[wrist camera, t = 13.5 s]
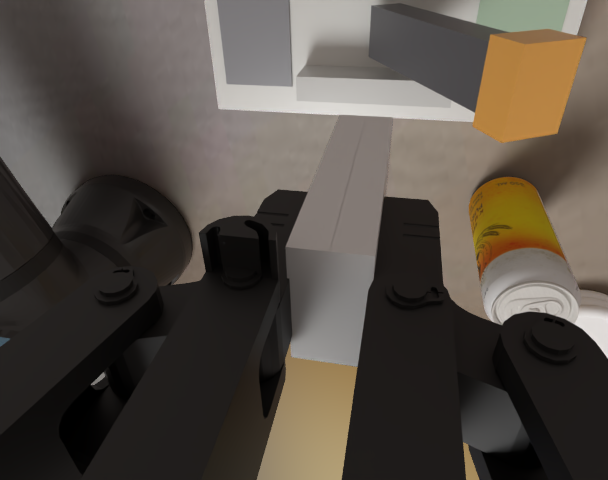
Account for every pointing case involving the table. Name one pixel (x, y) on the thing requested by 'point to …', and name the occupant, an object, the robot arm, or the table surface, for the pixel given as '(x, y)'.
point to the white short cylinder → (594, 317)
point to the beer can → (519, 253)
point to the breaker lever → (481, 67)
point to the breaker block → (344, 54)
